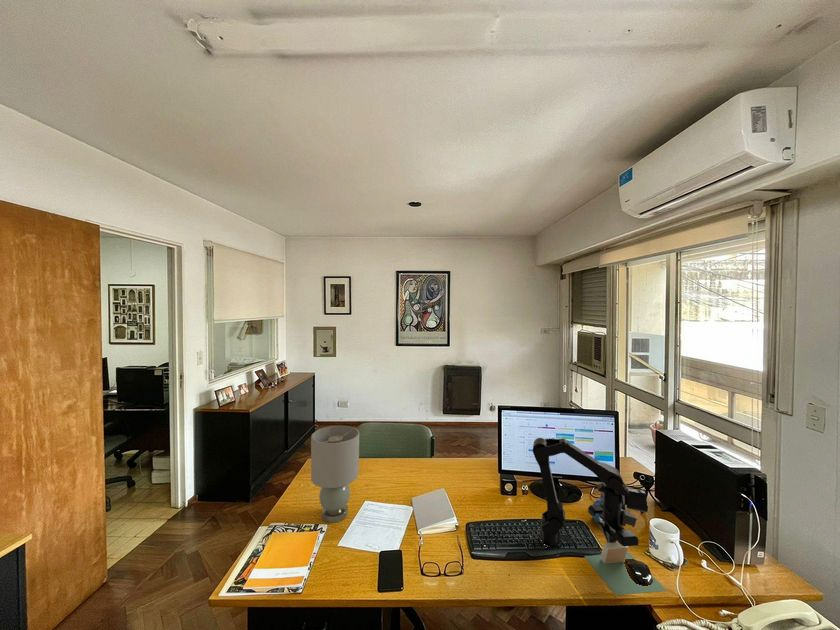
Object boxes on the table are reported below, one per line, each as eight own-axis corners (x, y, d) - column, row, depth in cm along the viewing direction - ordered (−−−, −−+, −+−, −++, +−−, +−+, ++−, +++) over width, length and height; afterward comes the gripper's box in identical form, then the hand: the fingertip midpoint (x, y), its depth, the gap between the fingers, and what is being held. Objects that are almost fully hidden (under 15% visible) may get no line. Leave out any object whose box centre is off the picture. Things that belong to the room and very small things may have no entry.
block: (604, 563, 113) (608, 548, 112) (600, 558, 115) (604, 543, 114) (625, 562, 114) (629, 547, 112) (621, 556, 116) (625, 541, 114)
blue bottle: (604, 527, 133) (604, 499, 133) (592, 518, 139) (593, 490, 139) (616, 525, 135) (616, 497, 135) (604, 516, 141) (604, 489, 141)
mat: (615, 596, 101) (615, 595, 101) (583, 557, 117) (583, 556, 117) (667, 591, 103) (667, 590, 103) (629, 554, 119) (629, 552, 119)
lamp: (346, 534, 127) (347, 445, 126) (300, 526, 131) (301, 440, 130) (365, 504, 147) (366, 427, 146) (324, 498, 151) (325, 423, 150)
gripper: (654, 519, 107) (652, 565, 108) (614, 488, 126) (613, 528, 126) (623, 522, 106) (622, 568, 106) (587, 490, 125) (586, 530, 125)
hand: (611, 547), depth 116 cm, fingers closed
